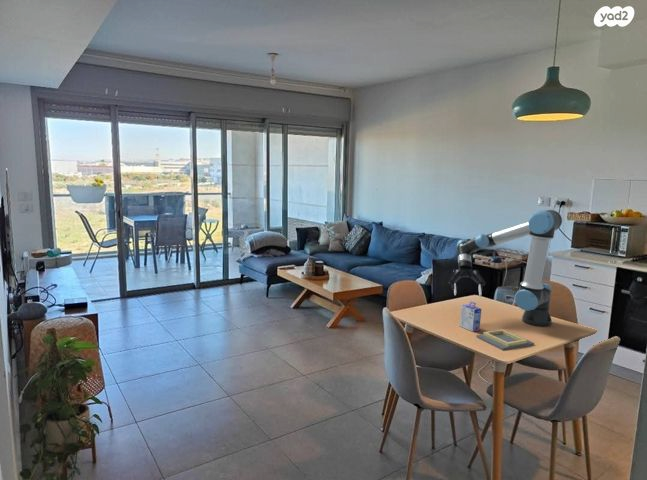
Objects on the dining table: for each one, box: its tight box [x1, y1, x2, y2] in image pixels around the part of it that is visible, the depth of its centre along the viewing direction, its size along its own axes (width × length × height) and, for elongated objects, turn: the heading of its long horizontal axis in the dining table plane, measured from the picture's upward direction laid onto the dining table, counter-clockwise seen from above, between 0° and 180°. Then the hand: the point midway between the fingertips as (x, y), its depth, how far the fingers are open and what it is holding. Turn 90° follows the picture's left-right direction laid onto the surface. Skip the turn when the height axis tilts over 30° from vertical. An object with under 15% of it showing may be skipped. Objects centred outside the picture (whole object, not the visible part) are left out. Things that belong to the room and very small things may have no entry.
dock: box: [475, 329, 535, 351], centre depth 222 cm, size 20×18×2 cm
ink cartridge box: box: [459, 301, 482, 332], centre depth 238 cm, size 10×6×14 cm, turn 27°
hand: (467, 294), depth 247 cm, fingers open, 13 cm apart
